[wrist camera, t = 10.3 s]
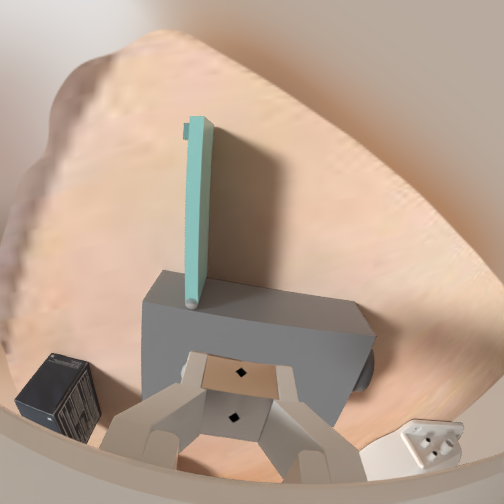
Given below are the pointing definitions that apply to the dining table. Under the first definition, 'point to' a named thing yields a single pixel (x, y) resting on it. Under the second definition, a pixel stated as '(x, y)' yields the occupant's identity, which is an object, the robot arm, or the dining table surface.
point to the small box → (61, 398)
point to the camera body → (258, 337)
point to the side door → (197, 206)
